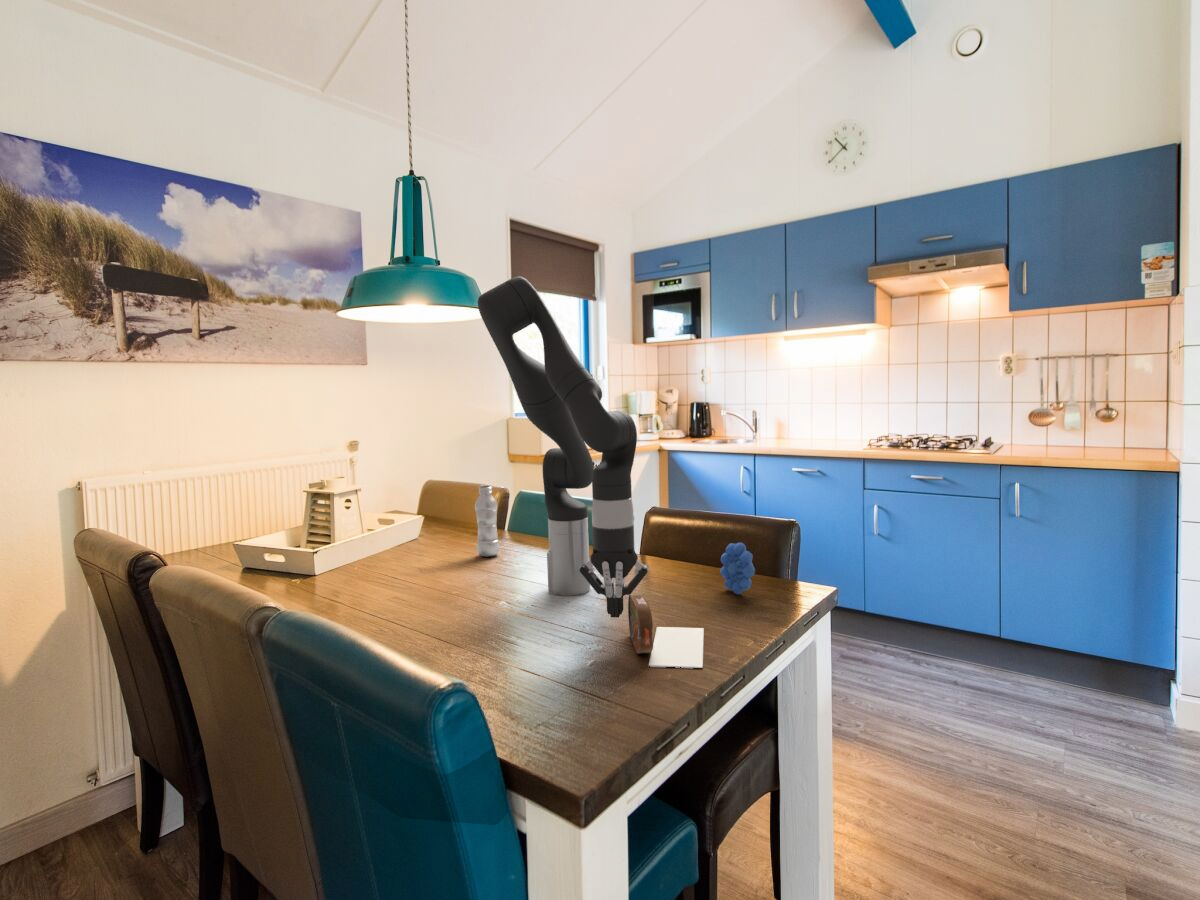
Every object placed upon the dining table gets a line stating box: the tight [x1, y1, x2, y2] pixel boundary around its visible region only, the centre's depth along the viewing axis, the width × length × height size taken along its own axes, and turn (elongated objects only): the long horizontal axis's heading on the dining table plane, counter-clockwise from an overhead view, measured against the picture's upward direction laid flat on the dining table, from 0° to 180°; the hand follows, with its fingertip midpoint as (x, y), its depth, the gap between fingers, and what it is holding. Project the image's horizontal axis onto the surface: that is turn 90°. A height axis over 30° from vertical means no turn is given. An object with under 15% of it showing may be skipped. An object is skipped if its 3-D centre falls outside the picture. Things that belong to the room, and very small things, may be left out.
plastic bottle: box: [474, 485, 501, 557], centre depth 191 cm, size 6×7×20 cm
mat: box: [648, 626, 705, 669], centre depth 122 cm, size 9×18×1 cm, turn 171°
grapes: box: [719, 542, 756, 595], centre depth 151 cm, size 12×7×12 cm, turn 23°
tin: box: [627, 594, 654, 655], centre depth 123 cm, size 15×3×8 cm, turn 5°
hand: (615, 616), depth 123 cm, fingers closed
